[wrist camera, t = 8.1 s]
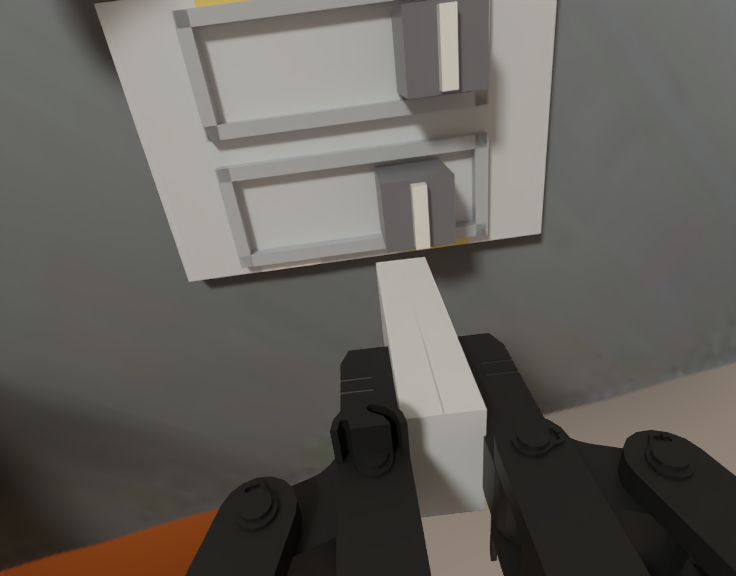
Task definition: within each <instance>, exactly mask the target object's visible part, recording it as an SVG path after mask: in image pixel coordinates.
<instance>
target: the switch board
mask: <svg viewBox="0 0 736 576" xmlns="http://www.w3.org/2000/svg"><path fill="white" fill-rule="evenodd" d="M421 1H429V0H119V1H111V2H104V3H96V4H94V6H95V8H96V11H97V14H98V17H99V20H100V23H101V26H102V29H103V32H104V35H105V38H106V41H107V44H108V46H109V49H110V52H111V55H112V58H113V61H114V64H115V67H116V70H117V73H118V76H119V79H120V82H121V84H122V87H123V90H124V93H125V96H126V99H127V102H128V105H129V108H130V111H131V114H132V117H133V119H134V122H135V125H136V128H137V131H138V134H139V137H140V140H141V143H142V146H143V149H144V152H145V155H146V157H147V160H148V163H149V166H150V169H151V172H152V175H153V178H154V181H155V184H156V187H157V190H158V193H159V195H160V198H161V201H162V204H163V207H164V210H165V213H166V216H167V219H168V222H169V225H170V228H171V231H172V233H173V236H174V239H175V242H176V245H177V248H178V251H179V254H180V257H181V260H182V263H183V266H184V268H185V271H186V274H187V277H188V280H189V282H190V281H198V280H205V279H212V278H219V277H227V276H234V275H241V274H249V273H256V272H264V271H271V270H278V269H286V268H293V267H300V266H308V265H315V264H322V263H329V262H336V261H344V260H351V259H358V258H366V257H373V256H380V255H388V254H395V253H402V252H410V251H417V250H416V249H411V250H404V251H397V252H390V253H387V250H386V246H385V243H384V239H383V236H382V232H381V228H380V219H379V210H378V201H377V192H376V182H375V173H374V167H378V166H385V165H392V164H400V163H407V162H415V161H422V160H429V159H437V158H439V159H440V160H441V161H442V162H443V163H444V164H445V165H446V166H447V167H448V168H449V169H450V170H451V171H452V172H453V173H454V178H455V216H456V243H455V244H448V245H441V246H433V247H430V248H427V249H432V248H439V247H447V246H454V245H461V244H468V243H475V242H483V241H490V240H497V239H505V238H512V237H519V236H527V235H534V234H541V225H542V210H543V195H544V181H545V166H546V151H547V137H548V122H549V107H550V93H551V78H552V63H553V49H554V34H555V20H556V5H557V0H489V62H488V89H482V90H474V91H467V92H459V93H452V94H444V95H437V96H430V97H422V98H415V99H406V98H405V97H403V96H402V95H400V94H399V93H397V83H396V70H395V58H394V45H393V33H392V20H391V10H393V9H394V8H396V7H397V6H399V5H401V4H406V3H414V2H421ZM420 250H425V249H420Z"/></svg>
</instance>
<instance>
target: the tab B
mask: <svg viewBox="0 0 736 576" xmlns="http://www.w3.org/2000/svg"><path fill="white" fill-rule="evenodd" d="M391 20H392V33H393V45H394V58H395V70H396V83H397V93H399V94H400V95H402V96H403V97H405V98H406V99H415V98H422V97H430V96H437V95H444V94H452V93H459V92H467V91H474V90H482V89H488V62H489V0H429V1H421V2H414V3H406V4H401V5H399V6H397V7H396V8H394V9H393V10H391Z"/></svg>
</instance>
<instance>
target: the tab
mask: <svg viewBox="0 0 736 576" xmlns="http://www.w3.org/2000/svg"><path fill="white" fill-rule="evenodd" d="M374 173H375V182H376V192H377V201H378V210H379V219H380V228H381V232H382V236H383V239H384V243H385V246H386V250H387V253H390V252H397V251H404V250H411V249H416V250H420V249H427V248H430V247H433V246H441V245H448V244H455V243H456V216H455V178H454V173H453V172H452V171H451V170H450V169H449V168H448V167H447V166H446V165H445V164H444V163H443V162H442V161H441V160H440V159H439V158H437V159H429V160H422V161H415V162H407V163H400V164H392V165H385V166H378V167H374Z"/></svg>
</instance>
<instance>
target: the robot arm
mask: <svg viewBox="0 0 736 576" xmlns="http://www.w3.org/2000/svg"><path fill="white" fill-rule="evenodd" d="M376 270H377V279H378V289H379V299H380V308H381V318H382V327H383V337H384V343H385V347H377V348H369V349H360V350H352V351H348V353H347V355H346V356H345V358H344V360H343V361H342V363H341V365H340V370H341V411H340V412H339V414H338V415H337V416H336V417H335V418H334V420H333V422H332V426H331V429H330V434H331V439H332V444H333V449H334V454H335V459H334V460H333V462H332V463H331V464H330V465H329V466H328V467H327V468H326V469H325V470H324V471H322V472H321V473H319V474H318V475H316V476H314V477H312V478H310V479H308V480H305V481H303V482H300V483H298V484H296V485H293V486H290V485H289V484H288V483H287V482H286V481H285V480H282V479H279V478H275V477H260V478H256V479H253V480H251V481H248V482H246V483H243V484H242V485H240V486H239V487H238V488H237V489H235V490H234V491H233V492H231V493H230V494H229V496H228V497H227V498H226V500H225V501H224V502H223V504H222V505H221V507H220V509H219V511H218V513H217V515H216V517H215V518H214V520H213V522H212V524H211V526H210V528H209V531H208V532H207V534H206V536H205V538H204V540H203V542H202V544H201V546H200V548H199V550H198V552H197V554H196V555H195V557H194V559H193V561H192V563H191V565H190V567H189V569H188V571H187V573H186V575H185V576H431V572H430V566H429V561H428V555H427V549H426V544H425V538H424V532H423V527H422V521H421V517H429V516H437V515H445V514H454V513H462V512H472V511H480V510H484V494H485V497H486V501H487V504H488V507H489V510H490V513H491V535H490V556H491V561H496V560H497V555H498V559H499V562H500V565H501V568H502V571H503V575H504V576H736V476H735V475H733V474H732V473H731V472H730V471H728V470H727V469H726V468H725V467H723V466H722V465H721V464H720V463H718V462H717V461H716V460H715V459H713V458H712V457H711V456H710V455H708V454H707V453H706V452H705V451H703V450H702V449H701V448H699V447H698V446H696V445H695V444H693V443H691V442H690V441H688V440H687V439H685V438H682V437H679V436H677V435H674V434H671V433H668V432H662V431H655V430H647V431H641V432H636V433H634V434H633V435H631V436H630V437H628V438H627V439H626V442H625V444H624V447H623V448H616V447H609V446H602V445H595V444H589V443H585V442H580V441H577V440H574V439H572V438H570V437H569V436H568V435H567V434H566V433H565V431H564V430H563V429H562V428H561V427H560V426H558V425H556V424H555V423H553V422H551V421H550V420H548V419H545V418H544V416H543V415H542V413H541V411H540V409H539V408H538V406H537V404H536V402H535V400H534V398H533V397H532V395H531V393H530V391H529V389H528V388H527V386H526V384H525V382H524V380H523V379H522V377H521V375H520V373H518V369H517V368H516V366H515V364H514V362H513V361H512V360H511V357H510V355H509V353H508V351H507V350H506V348H505V346H504V344H503V343H501V342H500V341H499V340H497V339H496V338H495V337H493V336H492V335H491V334H489V333H485V334H477V335H468V336H460V337H457V335H456V332H455V330H454V327H453V325H452V323H451V320H450V318H449V315H448V313H447V310H446V308H445V305H444V303H443V300H442V298H441V295H440V293H439V291H438V288H437V286H436V283H435V281H434V278H433V276H432V273H431V271H430V268H429V266H428V263H427V261H426V258H425V257H420V258H411V259H403V260H394V261H386V262H377V263H376Z"/></svg>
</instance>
